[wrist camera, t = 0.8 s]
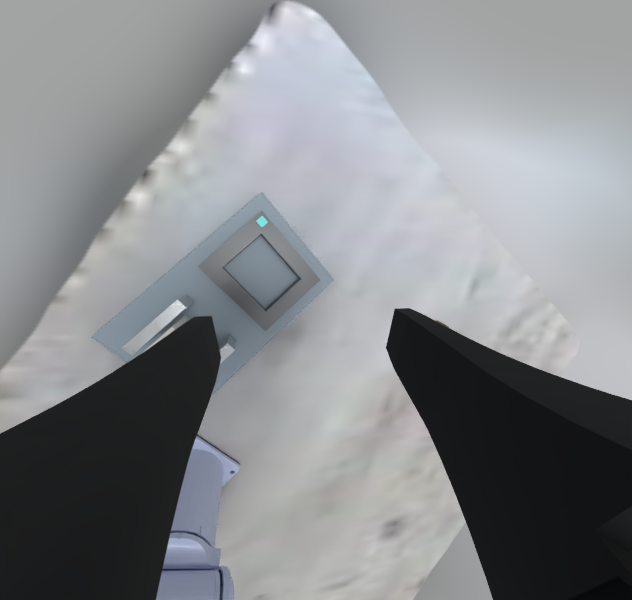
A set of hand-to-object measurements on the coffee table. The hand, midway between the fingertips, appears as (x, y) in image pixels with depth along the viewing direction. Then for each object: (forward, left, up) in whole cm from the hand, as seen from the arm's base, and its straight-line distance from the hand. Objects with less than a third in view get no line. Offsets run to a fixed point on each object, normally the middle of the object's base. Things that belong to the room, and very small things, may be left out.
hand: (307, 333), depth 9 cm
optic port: (+1, +2, -17) cm, 17 cm away
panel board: (-4, +2, -18) cm, 18 cm away
